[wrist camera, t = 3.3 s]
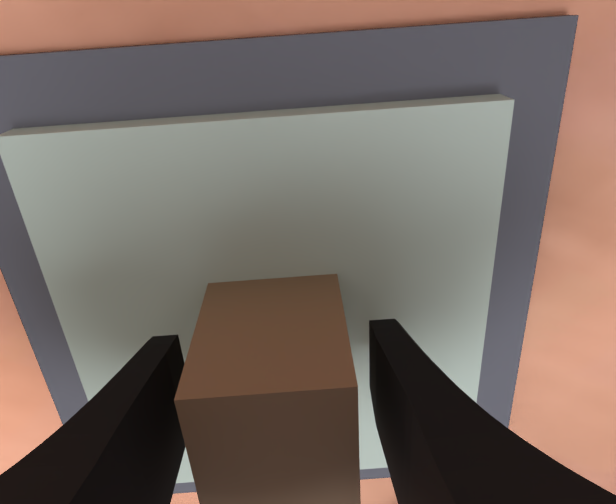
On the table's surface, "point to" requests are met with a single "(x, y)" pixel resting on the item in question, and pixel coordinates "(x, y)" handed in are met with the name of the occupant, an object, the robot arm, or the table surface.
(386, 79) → the mat
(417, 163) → the lid
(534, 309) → the table surface
